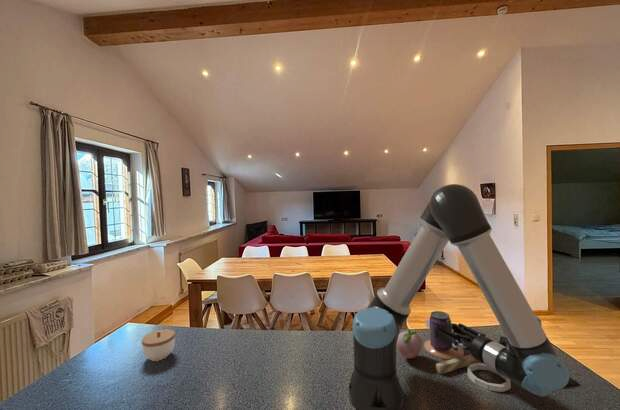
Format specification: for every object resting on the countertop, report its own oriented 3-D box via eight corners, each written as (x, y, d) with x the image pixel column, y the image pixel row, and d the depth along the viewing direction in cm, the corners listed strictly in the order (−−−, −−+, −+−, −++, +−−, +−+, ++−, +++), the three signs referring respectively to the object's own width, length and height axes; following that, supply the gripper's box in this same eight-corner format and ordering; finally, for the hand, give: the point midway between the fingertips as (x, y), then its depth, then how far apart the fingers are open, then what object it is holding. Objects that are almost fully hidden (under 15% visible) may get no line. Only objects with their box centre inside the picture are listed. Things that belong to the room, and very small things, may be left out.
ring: (504, 397, 77) (504, 392, 77) (460, 377, 86) (460, 372, 86) (516, 380, 84) (516, 375, 84) (474, 363, 93) (474, 358, 93)
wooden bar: (439, 374, 88) (439, 366, 88) (436, 371, 89) (435, 363, 89) (481, 361, 94) (481, 354, 94) (477, 359, 95) (477, 351, 95)
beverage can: (447, 341, 105) (446, 310, 104) (455, 352, 98) (454, 319, 97) (428, 341, 106) (426, 310, 105) (433, 352, 99) (432, 318, 98)
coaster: (454, 364, 93) (454, 363, 93) (417, 348, 103) (417, 347, 103) (469, 350, 101) (469, 348, 101) (434, 336, 111) (434, 335, 111)
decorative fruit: (400, 348, 103) (400, 321, 103) (424, 354, 99) (423, 327, 98) (392, 361, 96) (392, 332, 95) (417, 369, 91) (417, 338, 91)
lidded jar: (174, 361, 99) (173, 335, 99) (139, 368, 95) (138, 341, 95) (176, 346, 109) (175, 322, 109) (145, 352, 105) (144, 328, 105)
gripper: (468, 372, 82) (413, 335, 104) (510, 358, 88) (450, 326, 110) (467, 346, 81) (413, 315, 103) (510, 335, 87) (450, 307, 109)
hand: (432, 321), depth 106 cm, fingers closed on beverage can, 5 cm apart
